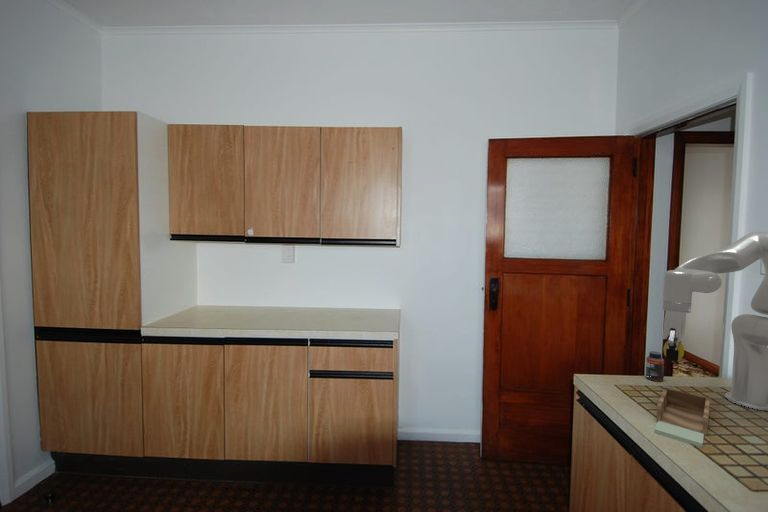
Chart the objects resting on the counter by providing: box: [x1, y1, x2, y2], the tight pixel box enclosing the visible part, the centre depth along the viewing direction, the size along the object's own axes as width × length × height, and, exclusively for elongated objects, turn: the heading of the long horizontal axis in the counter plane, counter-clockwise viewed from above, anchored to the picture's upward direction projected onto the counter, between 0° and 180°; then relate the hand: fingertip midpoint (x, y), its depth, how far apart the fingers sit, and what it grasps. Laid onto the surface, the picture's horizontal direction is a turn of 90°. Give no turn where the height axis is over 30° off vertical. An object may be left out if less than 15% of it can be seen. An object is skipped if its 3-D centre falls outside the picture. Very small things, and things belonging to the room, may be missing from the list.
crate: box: [655, 387, 711, 437], centre depth 118 cm, size 18×12×6 cm, turn 136°
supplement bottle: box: [645, 350, 665, 382], centre depth 150 cm, size 6×6×11 cm
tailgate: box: [654, 421, 705, 448], centre depth 108 cm, size 2×11×8 cm
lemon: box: [662, 339, 685, 363], centre depth 124 cm, size 6×6×8 cm
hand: (673, 358), depth 124 cm, fingers closed on lemon, 5 cm apart
